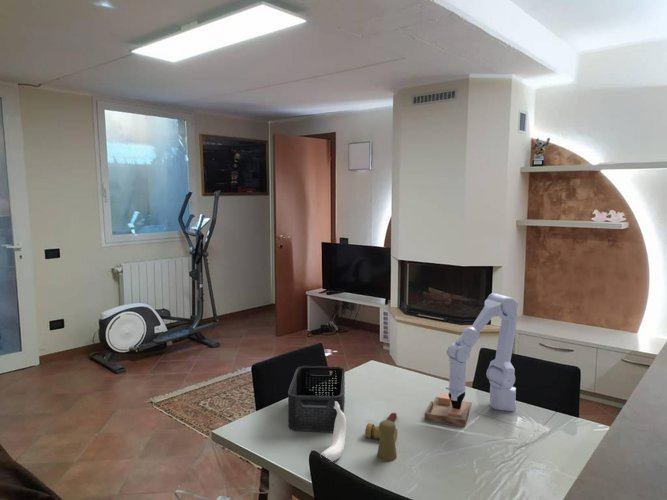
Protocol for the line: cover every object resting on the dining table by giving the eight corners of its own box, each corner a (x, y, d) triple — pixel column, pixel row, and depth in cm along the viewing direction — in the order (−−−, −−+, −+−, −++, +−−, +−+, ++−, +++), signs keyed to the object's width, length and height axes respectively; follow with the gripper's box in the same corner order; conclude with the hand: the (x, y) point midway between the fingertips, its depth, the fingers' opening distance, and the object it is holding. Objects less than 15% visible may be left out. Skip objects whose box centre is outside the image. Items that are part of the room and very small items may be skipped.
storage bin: (342, 433, 159) (342, 395, 158) (286, 431, 160) (286, 394, 159) (344, 398, 188) (345, 366, 186) (297, 397, 189) (297, 365, 187)
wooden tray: (472, 404, 182) (472, 396, 181) (464, 429, 162) (465, 420, 161) (436, 398, 187) (436, 390, 187) (424, 421, 167) (424, 413, 167)
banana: (320, 471, 136) (319, 423, 135) (334, 439, 155) (334, 397, 153) (336, 473, 135) (336, 425, 134) (348, 441, 154) (348, 398, 152)
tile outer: (451, 400, 183) (452, 394, 183) (450, 405, 179) (450, 399, 179) (440, 399, 185) (440, 393, 184) (438, 403, 181) (438, 397, 180)
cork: (396, 451, 147) (396, 418, 146) (397, 461, 141) (397, 427, 140) (377, 450, 148) (377, 417, 147) (377, 460, 142) (377, 426, 141)
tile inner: (462, 416, 170) (462, 409, 169) (460, 421, 166) (461, 414, 165) (450, 414, 171) (450, 407, 171) (448, 419, 167) (448, 412, 167)
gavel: (382, 405, 174) (408, 409, 171) (382, 417, 175) (408, 421, 171) (365, 426, 155) (394, 431, 151) (364, 439, 155) (393, 445, 151)
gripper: (449, 368, 178) (448, 402, 180) (442, 381, 165) (442, 418, 166) (468, 370, 176) (467, 405, 177) (463, 384, 162) (462, 421, 164)
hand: (456, 411), depth 172 cm, fingers closed
